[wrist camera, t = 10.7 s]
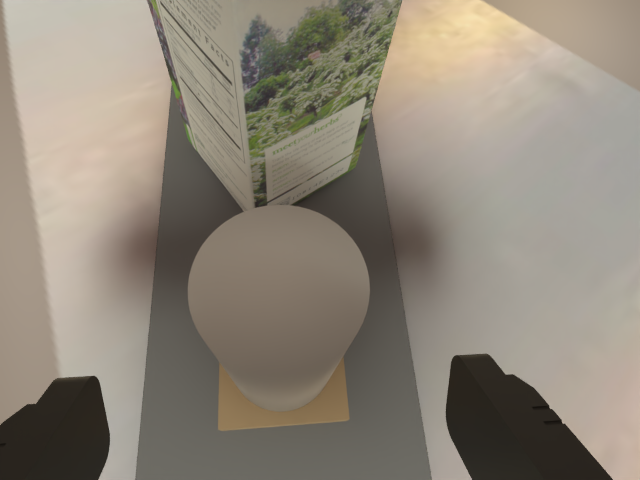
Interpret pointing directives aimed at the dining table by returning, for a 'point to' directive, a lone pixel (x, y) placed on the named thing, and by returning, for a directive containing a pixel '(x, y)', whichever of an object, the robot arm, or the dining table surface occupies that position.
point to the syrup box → (275, 87)
